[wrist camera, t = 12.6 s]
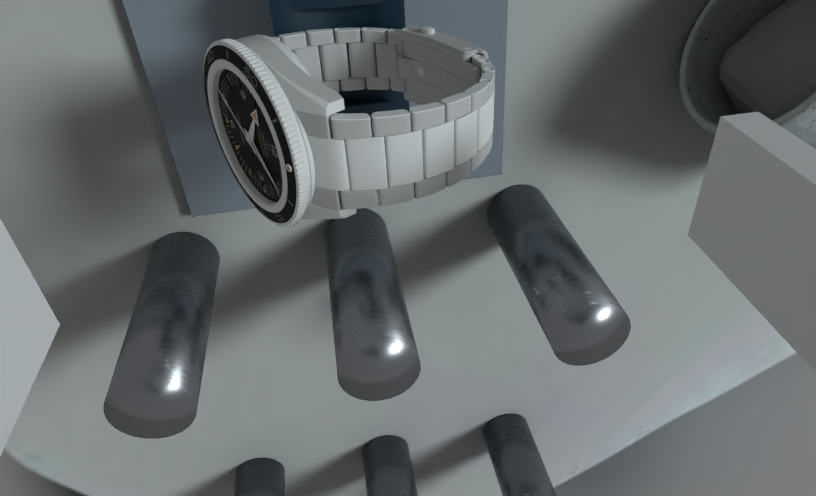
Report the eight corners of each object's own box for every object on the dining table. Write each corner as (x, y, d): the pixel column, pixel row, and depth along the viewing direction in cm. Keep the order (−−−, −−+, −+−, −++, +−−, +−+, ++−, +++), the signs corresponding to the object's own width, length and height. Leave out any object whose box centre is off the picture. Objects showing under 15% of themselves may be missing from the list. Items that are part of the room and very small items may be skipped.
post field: (142, 237, 27) (89, 388, 20) (548, 180, 29) (636, 300, 22) (242, 490, 39) (231, 644, 31) (525, 439, 40) (577, 572, 33)
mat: (70, -174, 18) (65, -174, 18) (510, -206, 20) (515, -207, 19) (193, 210, 27) (191, 216, 26) (498, 169, 28) (501, 174, 28)
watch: (209, -37, 21) (151, 65, 12) (437, -55, 22) (542, 27, 13) (243, 115, 24) (218, 285, 15) (439, 94, 25) (524, 242, 16)
